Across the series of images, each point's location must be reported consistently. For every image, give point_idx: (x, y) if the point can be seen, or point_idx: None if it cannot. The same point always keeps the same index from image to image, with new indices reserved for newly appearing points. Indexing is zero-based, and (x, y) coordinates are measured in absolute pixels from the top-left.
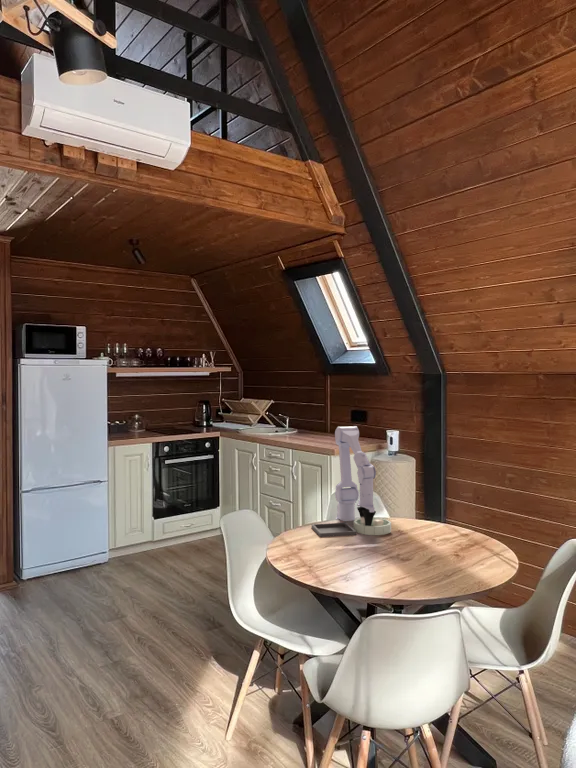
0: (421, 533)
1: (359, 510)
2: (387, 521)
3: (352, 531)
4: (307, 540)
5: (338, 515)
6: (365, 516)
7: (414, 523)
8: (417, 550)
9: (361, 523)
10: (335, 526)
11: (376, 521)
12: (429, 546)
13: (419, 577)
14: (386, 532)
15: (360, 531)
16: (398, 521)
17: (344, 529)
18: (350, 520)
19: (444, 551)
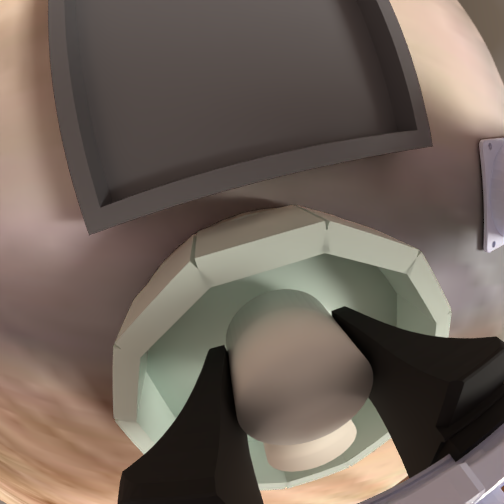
0: (266, 500)
1: (427, 379)
2: (311, 473)
3: (76, 191)
4: None
5: None
6: (161, 442)
7: (401, 462)
8: (29, 459)
9: (266, 316)
10: (378, 50)
11: (276, 445)
12: (93, 495)
13: None
14: None
15: (159, 275)
16: None
17: (297, 111)
18: (498, 208)
19: (65, 500)
